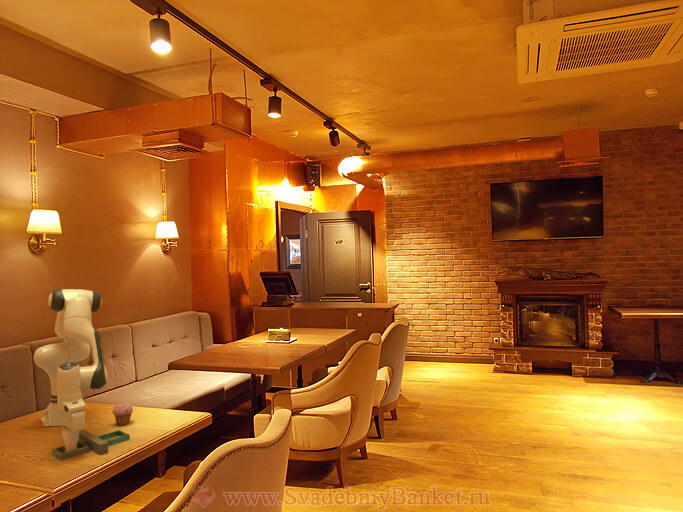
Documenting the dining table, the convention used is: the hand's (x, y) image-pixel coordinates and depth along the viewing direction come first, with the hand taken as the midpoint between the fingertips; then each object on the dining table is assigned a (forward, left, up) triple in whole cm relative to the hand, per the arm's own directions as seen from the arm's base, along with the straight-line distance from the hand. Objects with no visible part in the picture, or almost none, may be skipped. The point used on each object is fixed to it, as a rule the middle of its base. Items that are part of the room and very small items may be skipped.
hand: (71, 437), depth 196 cm
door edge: (0, +8, -6) cm, 10 cm away
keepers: (0, +8, -6) cm, 10 cm away
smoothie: (0, 0, -6) cm, 6 cm away
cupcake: (-19, +29, -6) cm, 35 cm away
